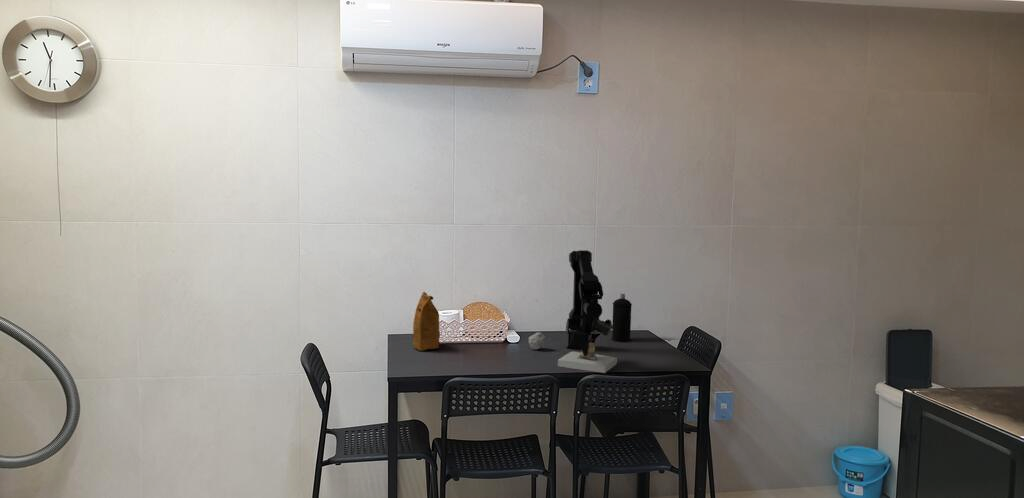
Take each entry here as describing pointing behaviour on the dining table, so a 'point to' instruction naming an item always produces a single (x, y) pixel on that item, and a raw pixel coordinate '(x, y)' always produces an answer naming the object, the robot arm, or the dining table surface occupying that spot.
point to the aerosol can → (621, 320)
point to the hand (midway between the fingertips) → (587, 354)
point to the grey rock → (536, 340)
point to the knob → (589, 353)
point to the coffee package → (426, 324)
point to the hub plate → (587, 362)
